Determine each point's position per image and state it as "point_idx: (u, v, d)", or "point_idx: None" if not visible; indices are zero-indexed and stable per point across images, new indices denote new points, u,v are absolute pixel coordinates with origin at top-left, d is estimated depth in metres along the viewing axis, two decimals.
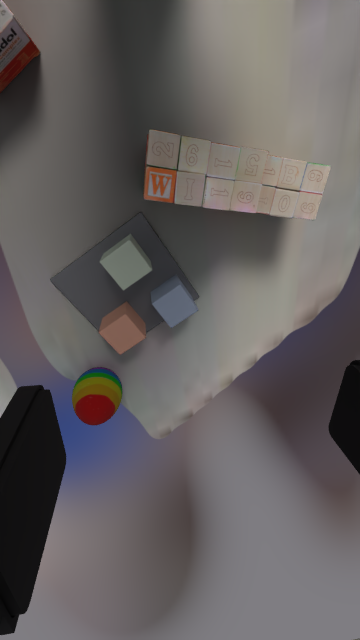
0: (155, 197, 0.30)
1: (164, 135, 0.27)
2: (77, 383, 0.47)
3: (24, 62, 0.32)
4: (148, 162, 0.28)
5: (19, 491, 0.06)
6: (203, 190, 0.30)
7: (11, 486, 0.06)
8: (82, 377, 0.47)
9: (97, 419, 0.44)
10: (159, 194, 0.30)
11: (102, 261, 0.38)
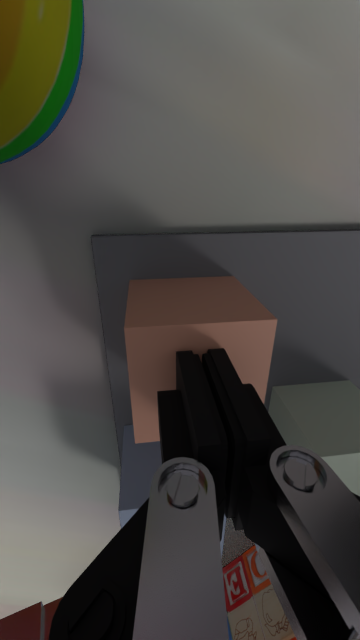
0: None
1: None
2: None
3: None
4: None
5: None
6: None
7: None
8: None
9: None
10: None
11: None
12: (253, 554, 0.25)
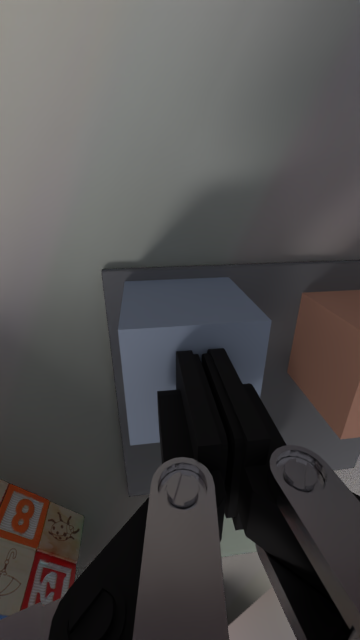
0: None
1: None
2: None
3: None
4: None
5: None
6: None
7: None
8: None
9: None
10: None
11: None
12: None
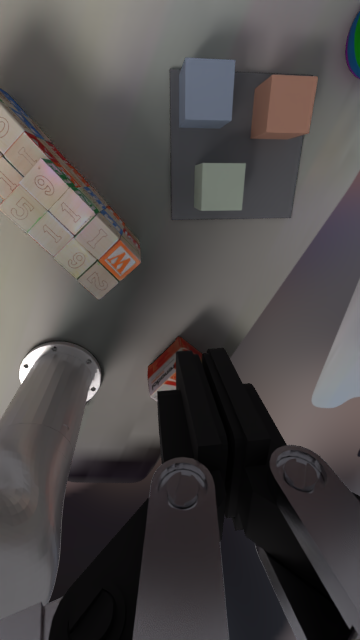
0: (131, 256, 0.29)
1: (90, 289, 0.30)
2: None
3: (155, 363, 0.47)
4: (116, 282, 0.30)
5: None
6: (84, 227, 0.27)
7: None
8: None
9: None
10: (125, 254, 0.29)
11: (239, 208, 0.35)
12: (78, 174, 0.35)
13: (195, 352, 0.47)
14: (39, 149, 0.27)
